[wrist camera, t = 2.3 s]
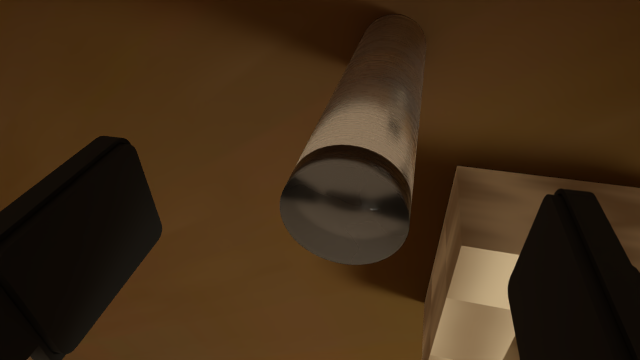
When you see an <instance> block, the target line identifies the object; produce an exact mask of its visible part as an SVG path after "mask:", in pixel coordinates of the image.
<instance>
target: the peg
mask: <svg viewBox="0 0 640 360" xmlns="http://www.w3.org/2000/svg"><path fill="white" fill-rule="evenodd" d="M425 56H426V39H425V35H424V33H423V31H422V29H421V28H420V26H419V25H418V24H417V23H416V22H415V21H413V20H412V19H410V18H408V17H406V16H403V15H397V14H394V15H386V16H383V17H381V18H379V19H377V20H375V21H374V22H373V23H372V24H371V25H370V26H369V27H368V28H367V30H366V31H365V33H364V35H363V37H362V39H361V41H360V43H359V45H358V46H357V48H356V50H355V52H354V54H353V56H352V58H351V60H350V62H349V64H348V66H347V68H346V70H345V72H344V74H343V76H342V77H341V79H340V81H339V83H338V85H337V87H336V89H335V91H334V93H333V95H332V97H331V99H330V101H329V103H328V105H327V106H326V108H325V110H324V112H323V114H322V116H321V118H320V120H319V122H318V124H317V126H316V128H315V130H314V132H313V134H312V136H311V137H310V139H309V141H308V143H307V145H306V147H305V149H304V151H303V153H302V155H301V157H300V159H299V161H298V163H297V165H296V167H295V168H294V170H293V172H292V174H291V176H290V178H289V180H288V182H287V184H286V186H285V188H284V190H283V192H282V195H281V199H280V213H281V217H282V220H283V223H284V225H285V227H286V228H287V230H288V232H289V233H290V234H291V236H292V237H293V238H294V239H295V240H296V241H297V242H298V243H299V244H300V245H302V246H303V247H304V248H305V249H307V250H308V251H310V252H311V253H313V254H315V255H317V256H319V257H322V258H324V259H326V260H330V261H333V262H337V263H342V264H350V265H362V264H370V263H374V262H378V261H381V260H383V259H385V258H387V257H389V256H391V255H392V254H394V253H395V252H396V251H397V250H398V249H399V248H400V247H401V246H402V245H403V243H404V242H405V240H406V238H407V235H408V231H409V224H410V213H411V203H412V192H413V182H414V171H415V161H416V150H417V140H418V129H419V119H420V108H421V98H422V87H423V77H424V66H425Z"/></svg>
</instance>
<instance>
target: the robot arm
mask: <svg viewBox="0 0 640 360" xmlns="http://www.w3.org/2000/svg"><path fill="white" fill-rule="evenodd" d="M161 233H162V224H161V221H160V218H159V216H158V213H157V210H156V207H155V204H154V201H153V198H152V195H151V192H150V189H149V186H148V183H147V180H146V178H145V175H144V172H143V169H142V166H141V163H140V160H139V157H138V154H137V151H136V149H135V148H134V147H133V146H132V145H131V144H130V142H129V141H128V140H127V139H124V138H117V137H109V136H100V137H98V138H96V139H95V140H93V141H92V142H91V143H90V144H88V145H87V146H86V147H84V148H83V149H82V150H80V151H79V152H78V153H76V154H75V155H74V156H73V157H71V158H70V159H69V160H67V161H66V162H65V163H63V164H62V165H61V166H59V167H58V168H57V169H56V170H54V171H53V172H52V173H50V174H49V175H48V176H46V177H45V178H44V179H42V180H41V181H40V182H39V183H37V184H36V185H35V186H33V187H32V188H31V189H29V190H28V191H27V192H25V193H24V194H23V195H21V196H20V197H19V198H18V199H16V200H15V201H14V202H12V203H11V204H10V205H8V206H7V207H6V208H4V209H3V210H2V211H1V212H0V360H27V359H28V358H29V356H31V358H32V359H33V360H62V359H63V358H64V356H65V355H66V354H68V353H70V352H72V351H73V350H74V349H75V348H76V347H77V346H78V345H79V343H80V342H81V341H82V339H83V338H84V337H85V335H86V334H87V333H88V331H89V330H90V329H91V327H92V326H93V325H94V324H95V322H96V321H97V320H98V318H99V317H100V316H101V314H102V313H103V312H104V310H105V309H106V308H107V306H108V305H109V304H110V303H111V301H112V300H113V299H114V297H115V296H116V295H117V293H118V292H119V291H120V289H121V288H122V287H123V285H124V284H125V283H126V282H127V280H128V279H129V278H130V276H131V275H132V274H133V272H134V271H135V270H136V268H137V267H138V266H139V265H140V263H141V262H142V261H143V259H144V258H145V257H146V255H147V254H148V253H149V251H150V250H151V249H152V247H153V246H154V245H155V244H156V242H157V241H158V240H159V238H160V236H161ZM508 299H509V305H510V310H511V315H512V321H513V326H514V331H515V337H516V342H517V347H518V352H519V358H520V360H640V272H639V271H638V269H637V268H636V267H634V266H633V265H632V264H631V262H630V260H629V258H628V256H627V254H626V252H625V251H624V249H623V247H622V245H621V243H620V241H619V239H618V237H617V235H616V234H615V232H614V230H613V228H612V226H611V224H610V222H609V220H608V219H607V217H606V215H605V213H604V211H603V209H602V207H601V205H600V203H599V202H598V200H597V198H596V196H595V195H594V193H592V192H588V191H579V190H571V189H562V188H560V189H558V190H557V191H556V192H555V193H554V195H552V194H547V195H546V196H545V197H544V199H543V201H542V203H541V205H540V208H539V210H538V212H537V215H536V217H535V220H534V222H533V224H532V227H531V229H530V231H529V234H528V236H527V238H526V241H525V243H524V246H523V248H522V250H521V253H520V255H519V257H518V260H517V262H516V265H515V267H514V269H513V272H512V274H511V276H510V279H509V282H508Z"/></svg>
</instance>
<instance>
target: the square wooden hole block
mask: <svg viewBox="0 0 640 360" xmlns="http://www.w3.org/2000/svg"><path fill="white" fill-rule="evenodd" d="M560 188H562V189H571V190H579V191H588V192H592V193H594V195H595V196H596V198H597V200H598V202H599V203H600V205H601V207H602V209H603V211H604V213H605V215H606V217H607V219H608V220H609V222H610V224H611V226H612V228H613V230H614V232H615V234H616V235H617V237H618V239H619V241H620V243H621V245H622V247H623V249H624V251H625V252H626V254H627V256H628V258H629V260H630V262H631V264H632V265H633V266H634V267H636V268H637V269H638V271H639V272H640V188H636V187H627V186H619V185H611V184H603V183H595V182H586V181H578V180H570V179H562V178H554V177H545V176H537V175H529V174H521V173H513V172H504V171H496V170H488V169H480V168H472V167H463V166H457V169H456V173H455V177H454V181H453V185H452V189H451V194H450V198H449V202H448V206H447V210H446V215H445V219H444V223H443V227H442V231H441V236H440V240H439V244H438V248H437V252H436V257H435V261H434V265H433V269H432V273H431V278H430V282H429V286H428V290H427V294H426V299H425V303H424V324H423V348H422V360H520V358H519V352H518V347H517V342H516V337H515V331H514V326H513V321H512V315H511V310H510V305H509V299H508V282H509V279H510V276H511V274H512V272H513V269H514V267H515V265H516V262H517V260H518V257H519V255H520V253H521V250H522V248H523V246H524V243H525V241H526V238H527V236H528V234H529V231H530V229H531V227H532V224H533V222H534V220H535V217H536V215H537V212H538V210H539V208H540V205H541V203H542V201H543V199H544V197H545V196H546V195H547V194H552V195H554V193H555V192H556V191H557V190H558V189H560Z"/></svg>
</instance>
